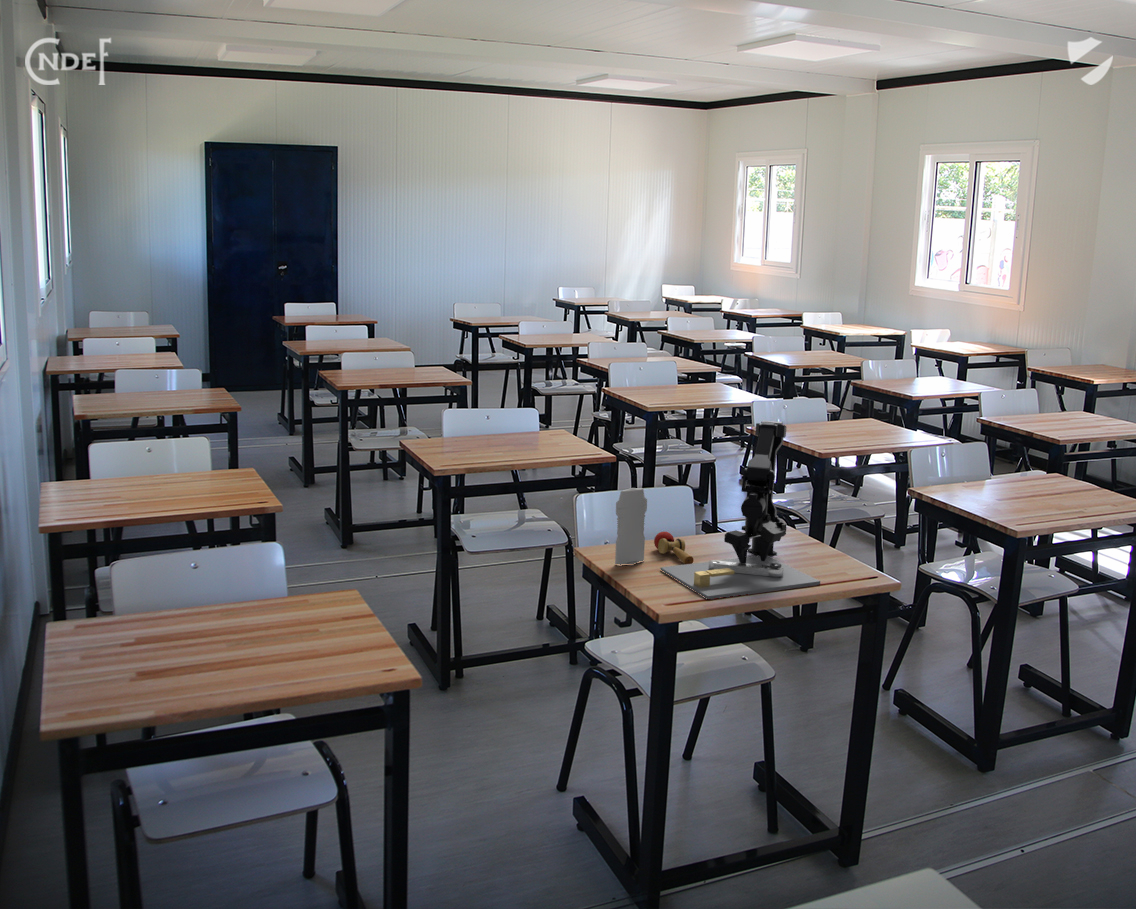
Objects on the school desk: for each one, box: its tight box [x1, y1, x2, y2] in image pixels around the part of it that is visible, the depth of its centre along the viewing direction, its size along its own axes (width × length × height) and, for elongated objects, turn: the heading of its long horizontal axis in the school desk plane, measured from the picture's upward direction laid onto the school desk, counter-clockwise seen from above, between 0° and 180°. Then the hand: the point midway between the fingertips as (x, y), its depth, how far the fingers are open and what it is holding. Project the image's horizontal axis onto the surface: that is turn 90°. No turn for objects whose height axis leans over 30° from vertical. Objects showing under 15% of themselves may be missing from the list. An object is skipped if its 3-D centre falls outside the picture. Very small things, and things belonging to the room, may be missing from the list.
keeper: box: [694, 568, 735, 587], centre depth 250 cm, size 3×10×3 cm, turn 113°
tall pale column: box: [614, 487, 648, 565], centre depth 267 cm, size 11×4×22 cm, turn 122°
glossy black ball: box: [769, 563, 782, 569], centre depth 257 cm, size 3×3×1 cm
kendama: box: [653, 531, 695, 565], centre depth 276 cm, size 8×6×18 cm
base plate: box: [660, 555, 821, 600], centre depth 259 cm, size 25×35×1 cm
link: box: [708, 559, 784, 578], centre depth 260 cm, size 20×4×2 cm, turn 75°
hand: (753, 563), depth 265 cm, fingers open, 8 cm apart
